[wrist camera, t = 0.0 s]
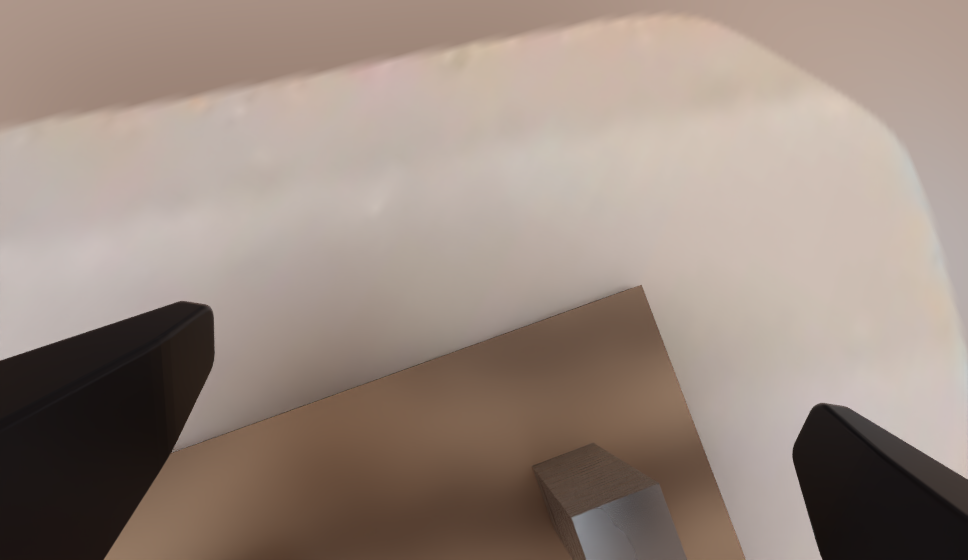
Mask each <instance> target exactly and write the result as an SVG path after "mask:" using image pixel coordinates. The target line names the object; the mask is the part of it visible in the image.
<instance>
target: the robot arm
mask: <svg viewBox="0 0 968 560" xmlns="http://www.w3.org/2000/svg"><path fill="white" fill-rule="evenodd" d="M214 355H215V350H214V316H213V311H212V309H211V308H210V307H209V306H208V305H205V304H199V303H193V302H187V301H180V302H176V303H173V304H170V305H167V306H164V307H161V308H158V309H155V310H152V311H149V312H146V313H143V314H140V315H137V316H134V317H131V318H128V319H125V320H122V321H119V322H116V323H113V324H110V325H107V326H104V327H101V328H98V329H95V330H92V331H89V332H86V333H83V334H80V335H77V336H74V337H71V338H67V339H64V340H61V341H58V342H55V343H52V344H49V345H46V346H43V347H40V348H37V349H34V350H31V351H28V352H25V353H22V354H19V355H16V356H13V357H10V358H7V359H4V360H1V361H0V560H104V559H105V557H106V555H107V554H108V552H109V551H110V549H111V548H112V546H113V544H114V543H115V541H116V540H117V538H118V537H119V535H120V533H121V532H122V530H123V529H124V527H125V526H126V524H127V523H128V521H129V519H130V518H131V516H132V515H133V513H134V512H135V510H136V508H137V507H138V505H139V504H140V502H141V501H142V499H143V497H144V496H145V494H146V493H147V491H148V490H149V488H150V486H151V485H152V483H153V482H154V480H155V479H156V477H157V475H158V474H159V472H160V471H161V469H162V467H163V466H164V464H165V462H166V461H167V459H168V457H169V455H170V454H171V452H172V450H173V448H174V446H175V444H176V442H177V440H178V438H179V436H180V434H181V432H182V429H183V427H184V425H185V423H186V421H187V419H188V417H189V415H190V413H191V411H192V409H193V407H194V405H195V402H196V400H197V398H198V396H199V394H200V392H201V390H202V388H203V386H204V384H205V382H206V380H207V378H208V375H209V373H210V371H211V369H212V366H213V362H214ZM792 455H793V463H794V466H795V470H796V473H797V477H798V480H799V484H800V487H801V491H802V494H803V497H804V501H805V504H806V508H807V511H808V515H809V518H810V522H811V525H812V529H813V532H814V536H815V539H816V542H817V545H818V549H819V552H820V555H821V557H822V560H968V479H966V478H964V477H963V476H961V475H959V474H958V473H956V472H954V471H953V470H951V469H949V468H948V467H946V466H944V465H943V464H941V463H939V462H938V461H936V460H934V459H933V458H931V457H929V456H928V455H926V454H924V453H923V452H921V451H919V450H918V449H916V448H914V447H913V446H911V445H909V444H908V443H906V442H904V441H903V440H901V439H899V438H898V437H896V436H894V435H893V434H891V433H890V432H888V431H886V430H885V429H883V428H881V427H880V426H878V425H876V424H875V423H873V422H871V421H870V420H868V419H866V418H865V417H863V416H861V415H860V414H858V413H856V412H855V411H853V410H851V409H850V408H848V407H844V406H840V405H833V404H827V403H819V404H817V405H815V406H814V407H813V408H812V410H811V411H810V413H809V415H808V417H807V419H806V421H805V423H804V425H803V427H802V429H801V431H800V433H799V435H798V437H797V439H796V441H795V444H794V447H793V454H792Z"/></svg>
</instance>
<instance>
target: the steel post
mask: <svg viewBox="0 0 968 560" xmlns="http://www.w3.org/2000/svg"><path fill="white" fill-rule="evenodd" d="M532 468H533V471H534V473H535V476H536V479H537V482H538V485H539V488H540V490H541V493H542V496H543V499H544V502H545V504H546V507H547V510H548V513H549V516H550V519H551V521H552V524H553V527H554V530H555V532H556V533H557V535H558V537H559V538H560V540H561V541H562V543H563V545H564V546H565V548H566V550H567V551H568V553H569V554H570V556H571V558H572V559H573V560H687V558H686V555H685V552H684V549H683V547H682V544H681V541H680V539H679V536H678V533H677V531H676V528H675V525H674V523H673V520H672V517H671V514H670V512H669V509H668V506H667V504H666V501H665V498H664V496H663V493H662V490H661V488H660V485H659V483H658V482H656V481H655V480H653V479H651V478H650V477H648V476H646V475H645V474H643V473H642V472H640V471H638V470H637V469H635V468H634V467H632V466H630V465H629V464H627V463H625V462H624V461H622V460H621V459H619V458H617V457H616V456H614V455H612V454H611V453H609V452H608V451H606V450H604V449H603V448H601V447H600V446H598V445H596V444H595V443H591V444H588V445H585V446H583V447H580V448H577V449H575V450H572V451H570V452H567V453H564V454H562V455H559V456H557V457H554V458H551V459H549V460H546V461H543V462H541V463H538V464H536V465H533V466H532Z"/></svg>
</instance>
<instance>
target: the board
mask: <svg viewBox="0 0 968 560" xmlns="http://www.w3.org/2000/svg"><path fill="white" fill-rule="evenodd" d="M591 443H595V444H596V445H598V446H600V447H601V448H603V449H604V450H606V451H608V452H609V453H611V454H612V455H614V456H616V457H617V458H619V459H621V460H622V461H624V462H625V463H627V464H629V465H630V466H632V467H634V468H635V469H637V470H638V471H640V472H642V473H643V474H645V475H646V476H648V477H650V478H651V479H653V480H655V481H656V482H658V483H659V485H660V488H661V490H662V493H663V496H664V498H665V501H666V504H667V506H668V509H669V512H670V514H671V517H672V520H673V523H674V525H675V528H676V531H677V533H678V536H679V539H680V541H681V544H682V547H683V549H684V552H685V555H686V558H687V560H746V559H745V557H744V554H743V551H742V549H741V546H740V543H739V541H738V538H737V536H736V533H735V530H734V528H733V525H732V522H731V520H730V517H729V514H728V512H727V509H726V507H725V504H724V501H723V499H722V496H721V493H720V491H719V488H718V485H717V483H716V480H715V478H714V475H713V472H712V470H711V467H710V464H709V462H708V459H707V457H706V454H705V451H704V449H703V446H702V443H701V441H700V438H699V435H698V433H697V430H696V428H695V425H694V422H693V420H692V417H691V414H690V412H689V409H688V406H687V404H686V401H685V399H684V396H683V393H682V391H681V388H680V385H679V383H678V380H677V377H676V375H675V372H674V370H673V367H672V364H671V362H670V359H669V356H668V354H667V351H666V349H665V346H664V343H663V341H662V338H661V335H660V333H659V330H658V327H657V325H656V322H655V320H654V317H653V314H652V312H651V309H650V306H649V304H648V301H647V298H646V296H645V293H644V291H643V288H642V285H640V286H637V287H634V288H631V289H628V290H625V291H623V292H620V293H617V294H614V295H611V296H609V297H606V298H603V299H600V300H597V301H595V302H592V303H589V304H586V305H584V306H581V307H578V308H575V309H572V310H570V311H567V312H564V313H561V314H558V315H556V316H553V317H550V318H547V319H544V320H542V321H539V322H536V323H533V324H531V325H528V326H525V327H522V328H519V329H517V330H514V331H511V332H508V333H505V334H503V335H500V336H497V337H494V338H491V339H489V340H486V341H483V342H480V343H477V344H475V345H472V346H469V347H466V348H464V349H461V350H458V351H455V352H452V353H450V354H447V355H444V356H441V357H438V358H436V359H433V360H430V361H427V362H424V363H422V364H419V365H416V366H413V367H411V368H408V369H405V370H402V371H399V372H397V373H394V374H391V375H388V376H385V377H383V378H380V379H377V380H374V381H371V382H369V383H366V384H363V385H360V386H357V387H355V388H352V389H349V390H346V391H344V392H341V393H338V394H335V395H332V396H330V397H327V398H324V399H321V400H318V401H316V402H313V403H310V404H307V405H304V406H302V407H299V408H296V409H293V410H291V411H288V412H285V413H282V414H279V415H277V416H274V417H271V418H268V419H265V420H263V421H260V422H257V423H254V424H251V425H249V426H246V427H243V428H240V429H237V430H235V431H232V432H229V433H226V434H224V435H221V436H218V437H215V438H212V439H210V440H207V441H204V442H201V443H198V444H196V445H193V446H190V447H187V448H184V449H182V450H179V451H176V452H173V453H171V454H170V455H169V457H168V459H167V461H166V462H165V464H164V466H163V467H162V469H161V471H160V472H159V474H158V475H157V477H156V479H155V480H154V482H153V483H152V485H151V486H150V488H149V490H148V491H147V493H146V494H145V496H144V497H143V499H142V501H141V502H140V504H139V505H138V507H137V508H136V510H135V512H134V513H133V515H132V516H131V518H130V519H129V521H128V523H127V524H126V526H125V527H124V529H123V530H122V532H121V533H120V535H119V537H118V538H117V540H116V541H115V543H114V544H113V546H112V548H111V549H110V551H109V552H108V554H107V555H106V557H105V559H104V560H573V559H572V558H571V556H570V554H569V553H568V551H567V550H566V548H565V546H564V545H563V543H562V541H561V540H560V538H559V537H558V535H557V533H556V532H555V530H554V527H553V524H552V521H551V519H550V516H549V513H548V510H547V507H546V504H545V502H544V499H543V496H542V493H541V490H540V488H539V485H538V482H537V479H536V476H535V473H534V471H533V468H532V466H533V465H536V464H538V463H541V462H543V461H546V460H549V459H551V458H554V457H557V456H559V455H562V454H564V453H567V452H570V451H572V450H575V449H577V448H580V447H583V446H585V445H588V444H591Z"/></svg>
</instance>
